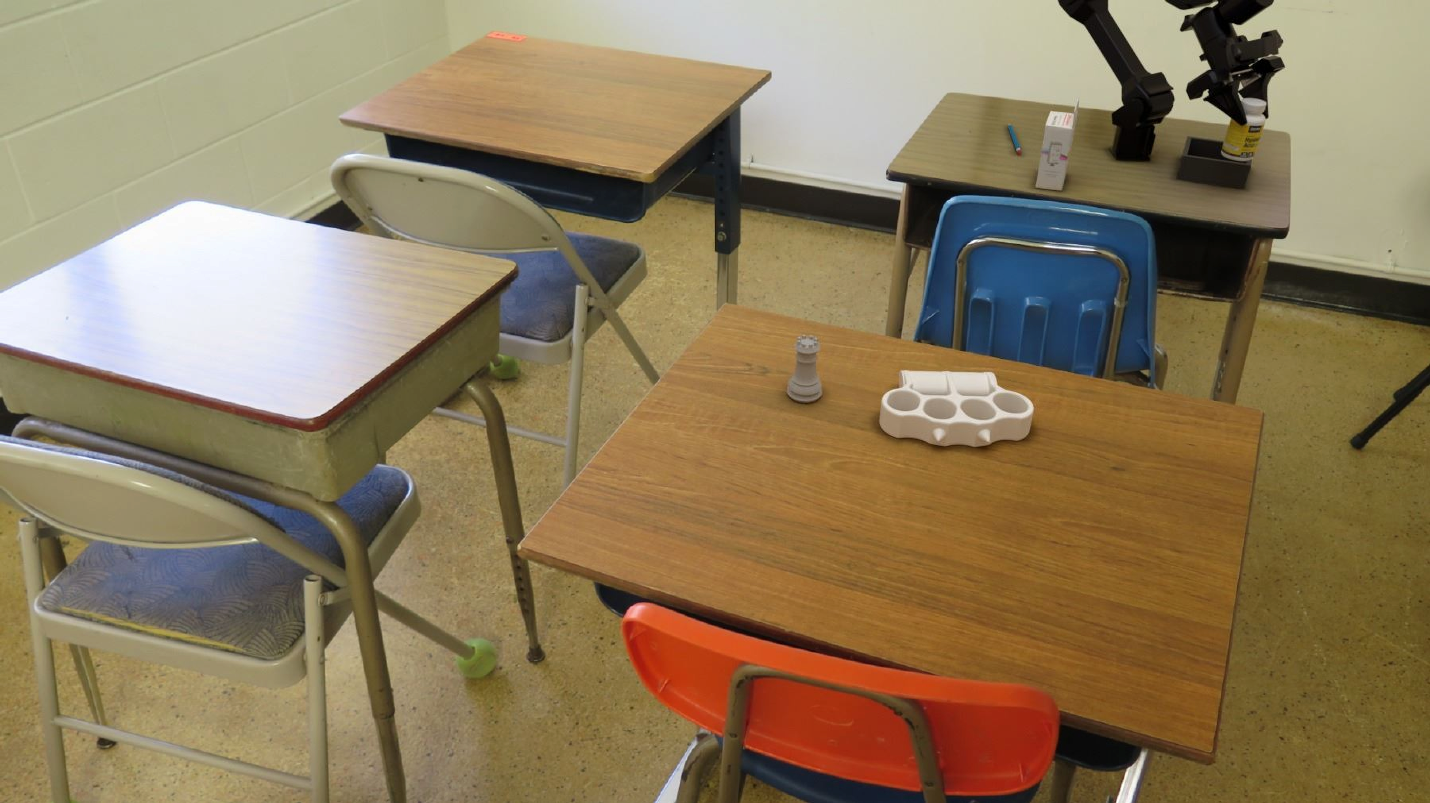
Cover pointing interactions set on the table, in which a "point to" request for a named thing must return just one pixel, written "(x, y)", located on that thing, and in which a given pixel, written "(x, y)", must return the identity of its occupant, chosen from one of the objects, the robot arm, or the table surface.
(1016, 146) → the pencil
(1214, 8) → the robot arm
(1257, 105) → the supplement bottle
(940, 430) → the knuckle duster
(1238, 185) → the bin
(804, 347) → the rook chess piece
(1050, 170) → the ink cartridge box
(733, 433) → the table surface
